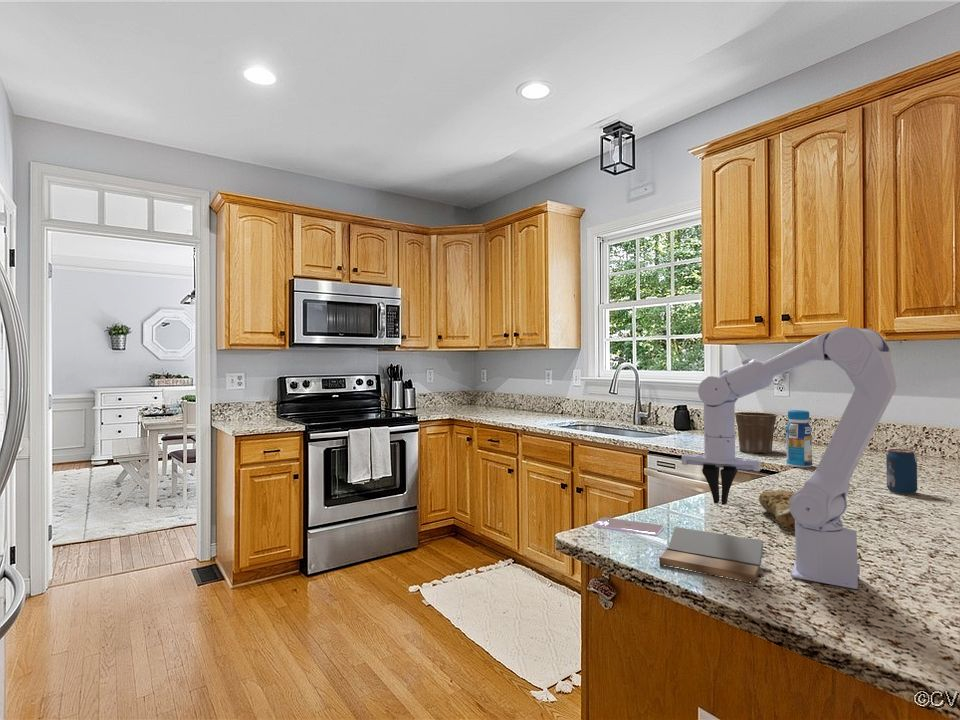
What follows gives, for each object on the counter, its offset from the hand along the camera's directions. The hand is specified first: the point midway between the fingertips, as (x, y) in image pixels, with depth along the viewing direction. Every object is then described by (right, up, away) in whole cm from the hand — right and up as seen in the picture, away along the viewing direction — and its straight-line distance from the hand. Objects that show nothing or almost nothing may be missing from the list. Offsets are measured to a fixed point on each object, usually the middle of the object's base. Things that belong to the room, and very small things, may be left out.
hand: (720, 503), depth 109 cm
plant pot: (+68, -10, +119) cm, 138 cm away
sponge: (+25, -10, +20) cm, 34 cm away
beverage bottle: (+68, -10, +87) cm, 110 cm away
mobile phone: (-14, -10, +16) cm, 24 cm away
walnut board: (-7, -9, -10) cm, 16 cm away
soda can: (+73, -9, +46) cm, 87 cm away
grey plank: (-3, -8, -5) cm, 10 cm away
